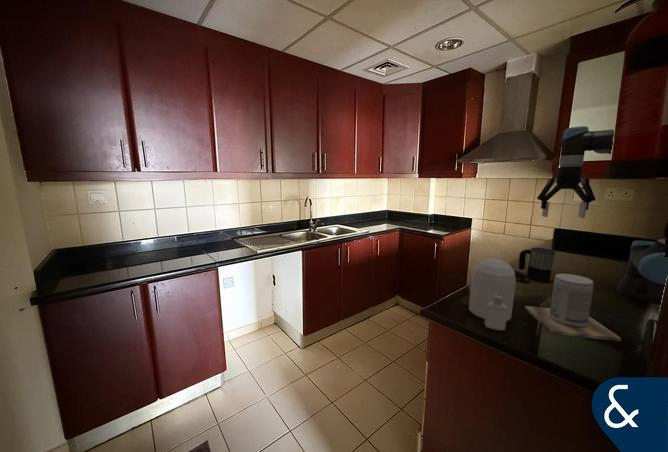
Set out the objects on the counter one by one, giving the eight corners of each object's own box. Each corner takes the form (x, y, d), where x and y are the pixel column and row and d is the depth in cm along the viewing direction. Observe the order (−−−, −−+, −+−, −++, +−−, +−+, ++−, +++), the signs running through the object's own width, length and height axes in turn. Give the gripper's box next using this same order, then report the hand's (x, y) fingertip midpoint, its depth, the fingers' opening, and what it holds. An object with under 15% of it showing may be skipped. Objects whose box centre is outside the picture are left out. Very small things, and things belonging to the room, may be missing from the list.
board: (581, 313, 95) (581, 311, 95) (620, 341, 79) (621, 338, 79) (524, 308, 99) (525, 305, 99) (551, 333, 83) (551, 330, 82)
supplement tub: (591, 322, 87) (599, 279, 85) (581, 331, 82) (590, 286, 80) (554, 310, 95) (560, 271, 93) (544, 317, 90) (550, 276, 88)
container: (516, 324, 88) (524, 266, 84) (470, 317, 92) (476, 261, 89) (505, 307, 100) (512, 255, 97) (466, 301, 105) (471, 251, 101)
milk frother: (551, 279, 129) (556, 249, 126) (548, 288, 118) (553, 256, 115) (516, 272, 139) (520, 244, 136) (510, 280, 127) (514, 250, 125)
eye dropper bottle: (501, 333, 82) (506, 297, 80) (482, 326, 87) (486, 291, 85) (506, 328, 85) (511, 293, 83) (487, 321, 89) (491, 287, 87)
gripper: (598, 166, 112) (590, 216, 115) (531, 167, 117) (525, 215, 120) (613, 165, 105) (603, 219, 108) (541, 166, 110) (534, 217, 113)
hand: (562, 217), depth 114 cm, fingers open, 13 cm apart
